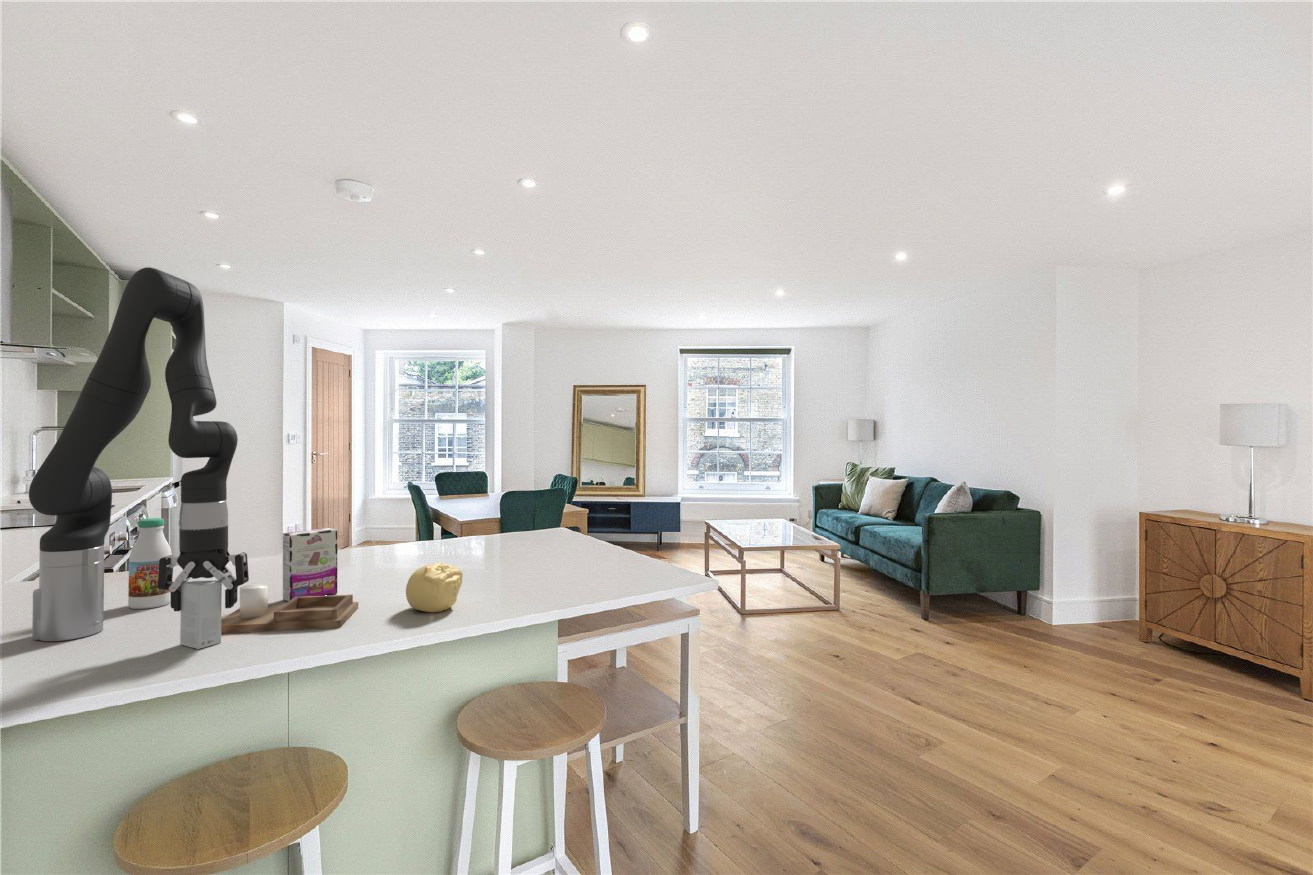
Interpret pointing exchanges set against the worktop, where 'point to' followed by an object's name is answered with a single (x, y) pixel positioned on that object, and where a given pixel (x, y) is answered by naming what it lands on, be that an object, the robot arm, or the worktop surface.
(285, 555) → the candy bar box
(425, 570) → the sculpture
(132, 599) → the milk bottle
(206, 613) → the skincare box
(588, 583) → the worktop surface
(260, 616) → the walnut organizer
